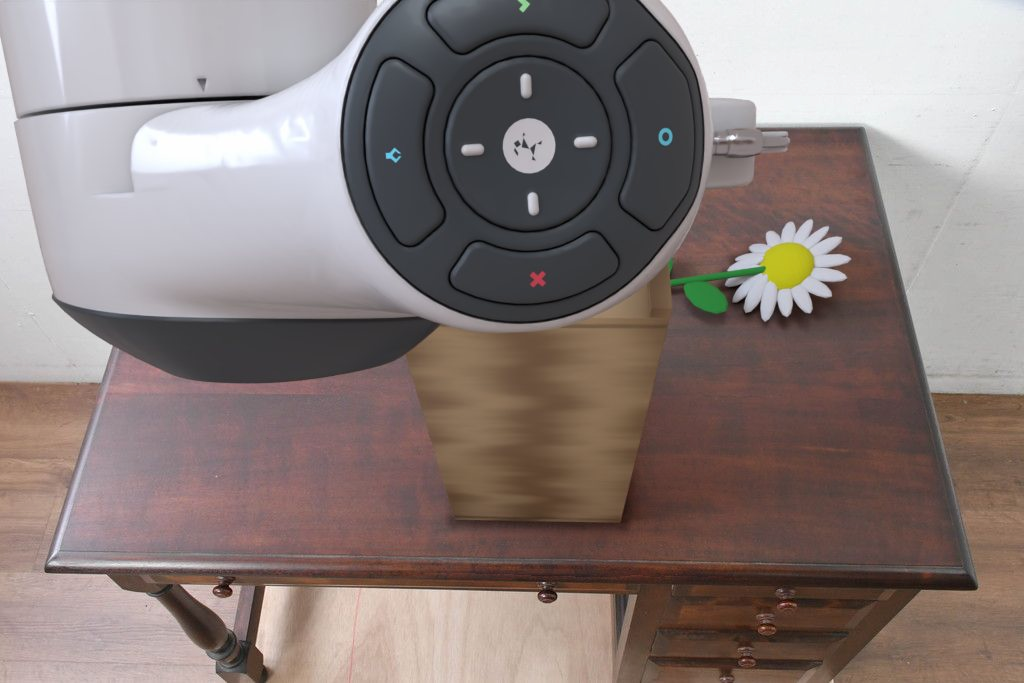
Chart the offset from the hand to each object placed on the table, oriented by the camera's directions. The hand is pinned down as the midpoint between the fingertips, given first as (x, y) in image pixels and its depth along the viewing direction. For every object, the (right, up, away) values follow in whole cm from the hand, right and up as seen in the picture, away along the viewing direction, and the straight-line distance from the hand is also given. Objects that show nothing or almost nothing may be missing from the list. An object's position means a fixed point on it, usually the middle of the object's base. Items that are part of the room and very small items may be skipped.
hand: (529, 150), depth 44 cm
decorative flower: (+20, -5, +46) cm, 51 cm away
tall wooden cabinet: (+2, -23, +36) cm, 43 cm away
